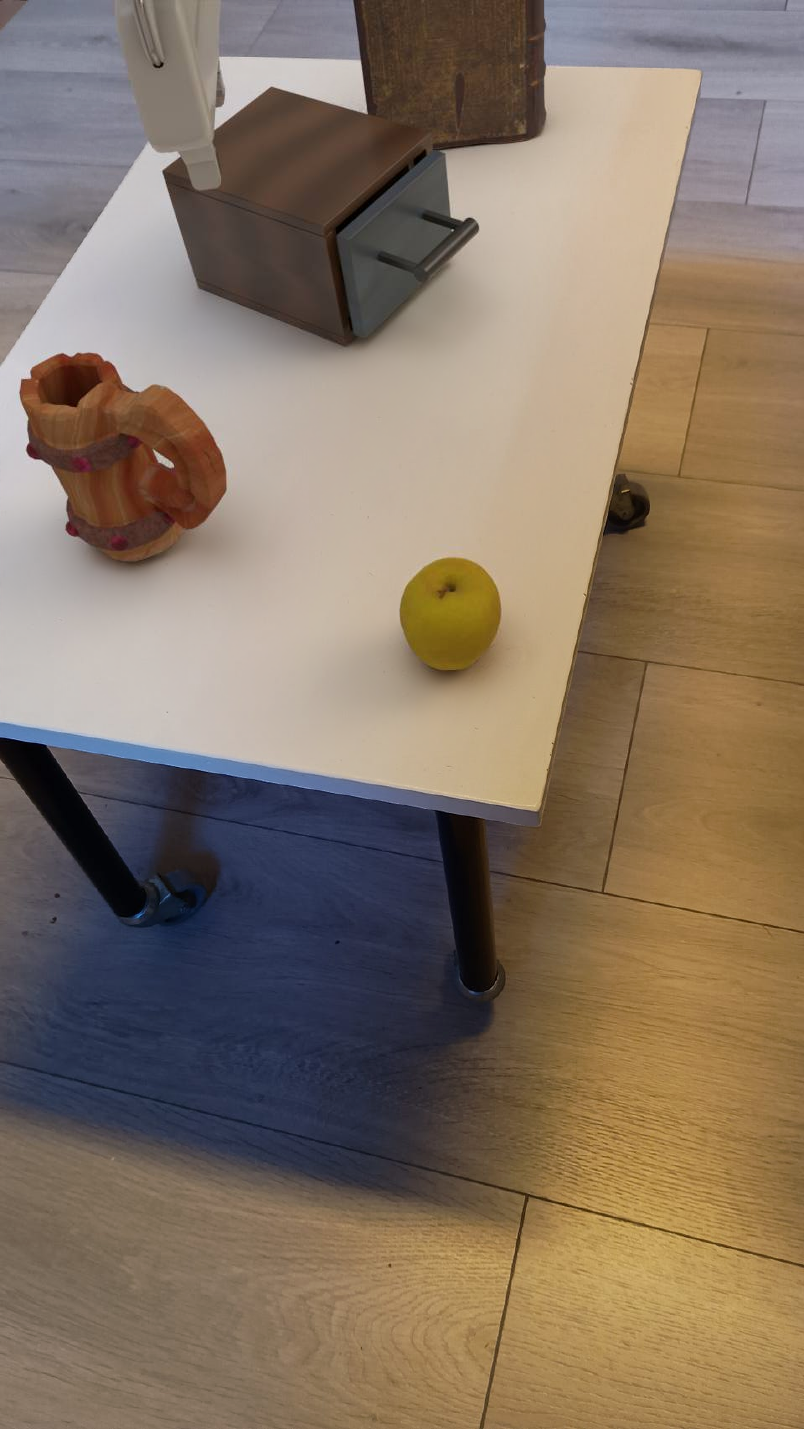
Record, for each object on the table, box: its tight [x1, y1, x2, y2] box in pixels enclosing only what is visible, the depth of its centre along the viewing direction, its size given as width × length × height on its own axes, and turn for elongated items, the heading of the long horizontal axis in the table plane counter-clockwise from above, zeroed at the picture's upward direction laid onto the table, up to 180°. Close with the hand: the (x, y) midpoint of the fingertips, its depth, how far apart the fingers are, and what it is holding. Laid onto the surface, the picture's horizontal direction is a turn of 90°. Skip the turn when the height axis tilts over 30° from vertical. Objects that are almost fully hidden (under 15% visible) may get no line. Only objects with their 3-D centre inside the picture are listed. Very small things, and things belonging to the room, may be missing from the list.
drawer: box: [332, 149, 480, 339], centre depth 91 cm, size 20×13×9 cm, turn 54°
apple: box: [399, 556, 502, 671], centre depth 69 cm, size 6×6×8 cm
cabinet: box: [161, 86, 434, 347], centre depth 93 cm, size 17×14×11 cm
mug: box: [18, 351, 228, 562], centre depth 75 cm, size 15×8×15 cm, turn 62°
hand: (211, 141), depth 71 cm, fingers open, 8 cm apart
